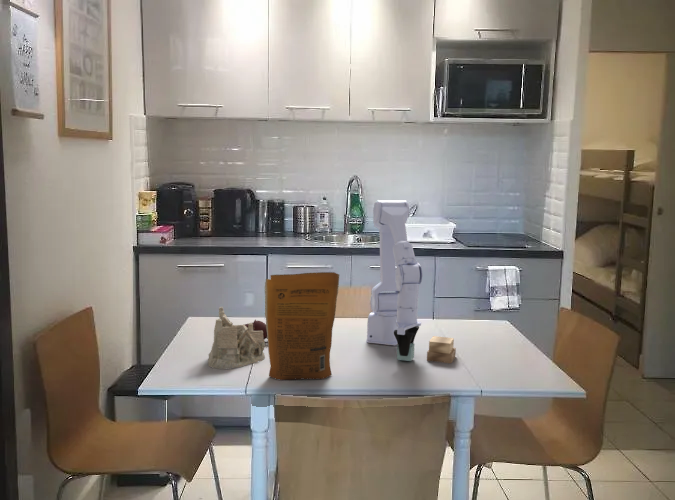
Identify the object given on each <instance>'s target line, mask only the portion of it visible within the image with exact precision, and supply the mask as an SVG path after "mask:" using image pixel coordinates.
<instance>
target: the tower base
mask: <svg viewBox="0 0 675 500" xmlns="http://www.w3.org/2000/svg"><path fill="white" fill-rule="evenodd" d="M456 349H457V347H453V350H452V351H451V353H450V354H446V353H437V352H429V349H428V350H427V352H426V361H427V362H437V363H445V364H452V363H453V361H454V360H455V358H456V352H457V351H456Z"/></svg>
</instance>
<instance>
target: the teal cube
mask: <svg viewBox="0 0 675 500" xmlns="http://www.w3.org/2000/svg"><path fill="white" fill-rule="evenodd" d="M396 346H397V350H396V360H399V361H407V362H412V360H413V359H414V358H415V343H410V348H409V353H408V356H400V353H399V347H398V345H396Z"/></svg>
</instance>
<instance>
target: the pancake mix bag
mask: <svg viewBox="0 0 675 500" xmlns="http://www.w3.org/2000/svg"><path fill="white" fill-rule="evenodd" d="M339 283H340V274H338V273H337V272H333V271H332V272H331V271H328V272H327V271H322V272H321V271H320V272H318V271H317V272H303V273H294V274H293V273H292V274H289V273H287V274H270V278H265V282H264V316H265V317H264V318H265V324H266V329H267V338H268V339H267V338H266V339H267V347H268V348H267V349H268V357H269V363H270V364H269V366H270V367H269V373H268V377H269V378H272V379H274V378H276V379H275V380H277V379H280V380H279V381H292V380H293V381H294V380H295V381H296V380H299V381H300V380H324V379H327V378H329V377H331V376H332V375H333V374H332V369H331V363H330V362H331V361H330V359H331V358H330V357H331V349H332V342H333V341H332V339H333V328H334V322H335V317H336V312H337V311H336V309H337V300H338V294H339Z"/></svg>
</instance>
